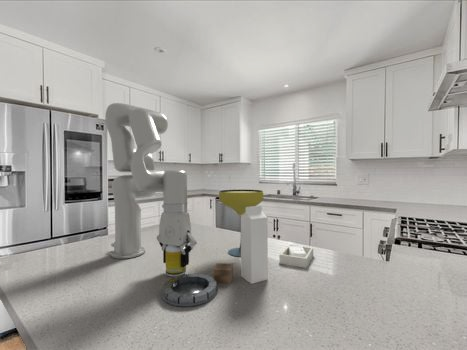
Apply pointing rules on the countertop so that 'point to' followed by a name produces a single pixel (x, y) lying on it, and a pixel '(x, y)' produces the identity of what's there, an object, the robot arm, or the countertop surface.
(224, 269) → the walnut block
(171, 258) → the pill bottle
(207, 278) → the collar
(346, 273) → the countertop surface
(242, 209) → the cocktail glass
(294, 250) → the soap
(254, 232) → the milk
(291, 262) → the soap dish
